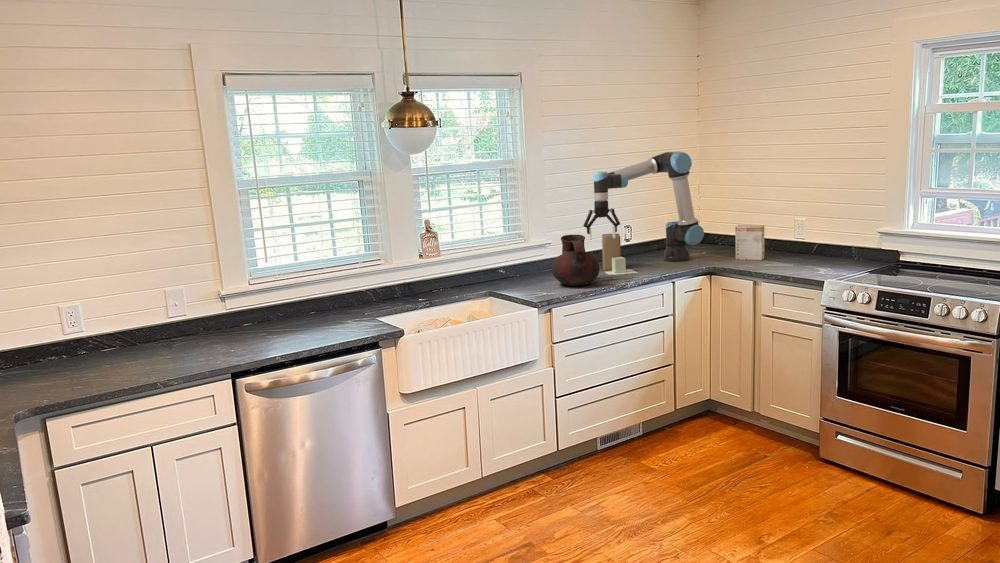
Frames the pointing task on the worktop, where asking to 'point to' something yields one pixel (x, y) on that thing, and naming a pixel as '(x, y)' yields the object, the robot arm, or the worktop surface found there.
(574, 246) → the jug
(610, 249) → the wooden block
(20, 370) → the worktop surface
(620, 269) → the sage block
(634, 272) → the letter
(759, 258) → the coffeecake box
